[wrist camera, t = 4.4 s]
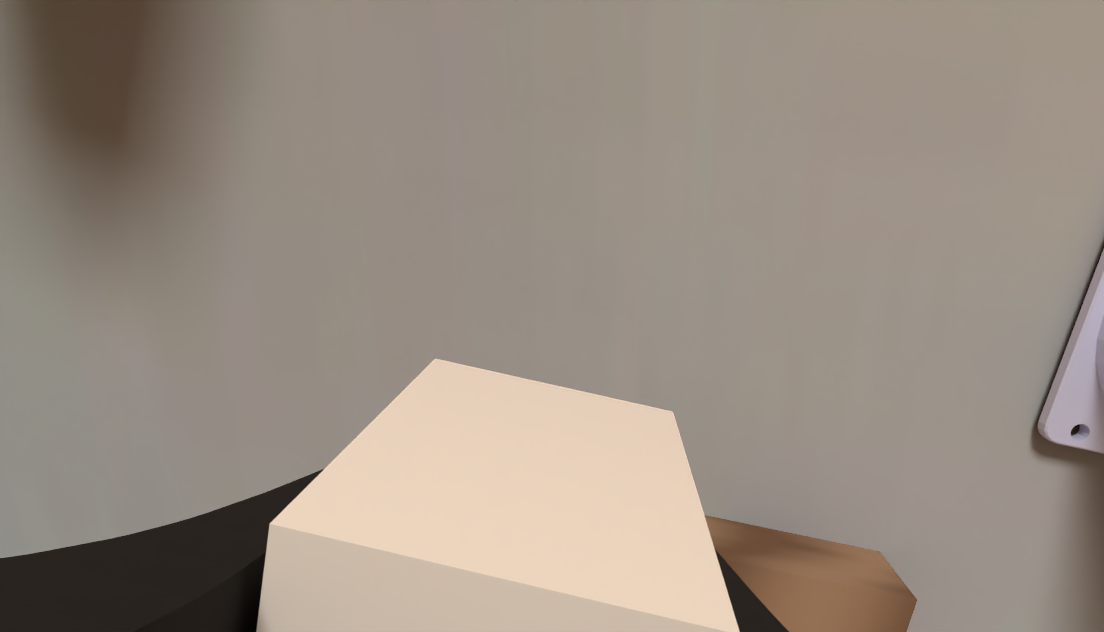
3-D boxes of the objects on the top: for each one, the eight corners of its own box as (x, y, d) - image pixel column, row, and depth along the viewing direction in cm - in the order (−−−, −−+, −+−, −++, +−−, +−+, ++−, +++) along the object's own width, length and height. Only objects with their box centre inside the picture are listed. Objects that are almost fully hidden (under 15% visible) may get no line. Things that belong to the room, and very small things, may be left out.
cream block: (672, 411, 12) (740, 634, 6) (618, 621, 13) (629, 995, 7) (435, 358, 12) (270, 523, 6) (398, 569, 13) (224, 890, 7)
